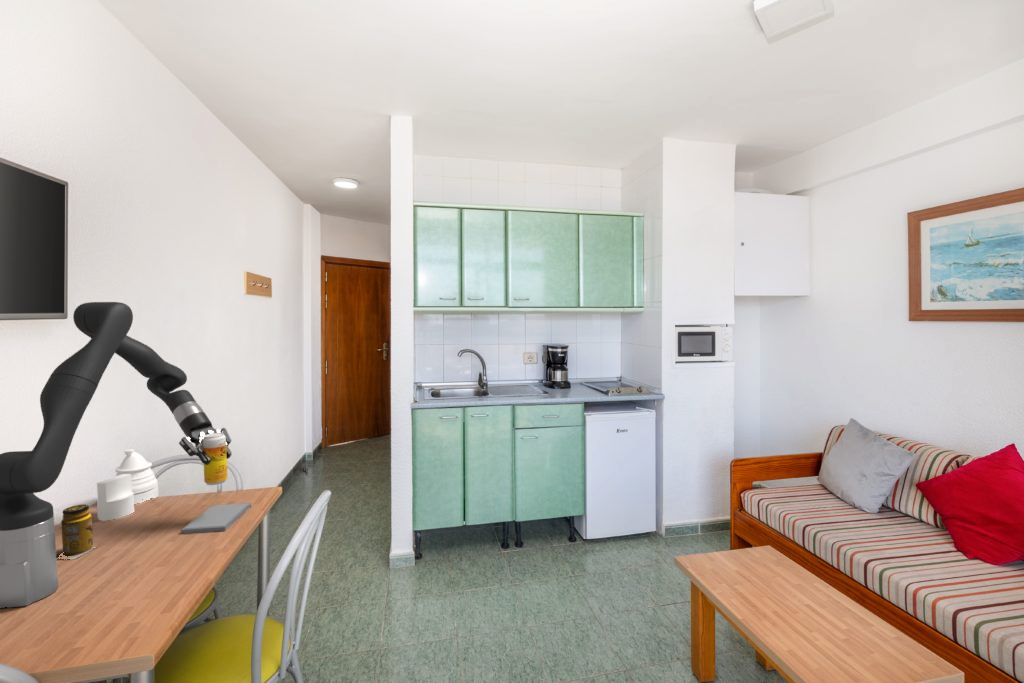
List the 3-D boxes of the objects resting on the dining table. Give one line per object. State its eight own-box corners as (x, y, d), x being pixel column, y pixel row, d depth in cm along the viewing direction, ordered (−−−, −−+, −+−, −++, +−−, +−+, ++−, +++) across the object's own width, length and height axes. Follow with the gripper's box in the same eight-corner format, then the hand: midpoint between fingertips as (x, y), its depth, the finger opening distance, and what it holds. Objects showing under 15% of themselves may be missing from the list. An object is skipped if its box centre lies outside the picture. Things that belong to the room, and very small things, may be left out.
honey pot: (144, 504, 158) (141, 452, 157) (102, 507, 156) (98, 455, 155) (166, 491, 171) (163, 442, 170) (127, 493, 169) (124, 444, 168)
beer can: (219, 485, 142) (217, 437, 141) (199, 485, 142) (197, 437, 141) (231, 478, 148) (229, 432, 147) (213, 478, 148) (211, 432, 147)
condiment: (102, 544, 130) (99, 502, 130) (74, 559, 122) (71, 515, 121) (75, 545, 130) (72, 503, 130) (46, 560, 122) (43, 516, 121)
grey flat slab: (225, 530, 137) (225, 526, 137) (181, 533, 136) (181, 529, 136) (251, 506, 155) (251, 502, 155) (212, 508, 154) (212, 505, 154)
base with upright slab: (117, 508, 155) (115, 473, 154) (141, 509, 154) (139, 474, 153) (90, 520, 146) (87, 483, 146) (115, 521, 145) (112, 484, 144)
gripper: (173, 416, 140) (201, 459, 136) (219, 407, 153) (246, 446, 149) (163, 431, 142) (190, 474, 139) (209, 421, 156) (235, 460, 152)
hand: (219, 459), depth 144 cm, fingers closed on beer can, 6 cm apart
